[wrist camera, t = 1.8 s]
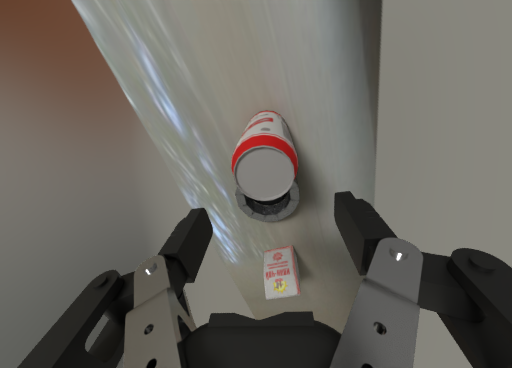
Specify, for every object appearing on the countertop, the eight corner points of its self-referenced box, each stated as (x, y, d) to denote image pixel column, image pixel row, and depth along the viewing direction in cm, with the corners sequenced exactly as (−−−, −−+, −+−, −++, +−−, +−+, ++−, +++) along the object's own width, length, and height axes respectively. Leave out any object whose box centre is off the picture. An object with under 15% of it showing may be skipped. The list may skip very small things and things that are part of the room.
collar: (226, 184, 34) (223, 192, 32) (272, 149, 30) (272, 155, 28) (263, 219, 38) (263, 230, 35) (308, 192, 34) (311, 201, 31)
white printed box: (296, 255, 43) (302, 299, 34) (269, 261, 45) (269, 304, 36) (292, 245, 41) (297, 288, 33) (264, 251, 43) (262, 294, 34)
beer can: (294, 134, 29) (316, 183, 15) (263, 156, 31) (257, 216, 17) (271, 100, 27) (272, 121, 13) (239, 126, 29) (210, 168, 15)
